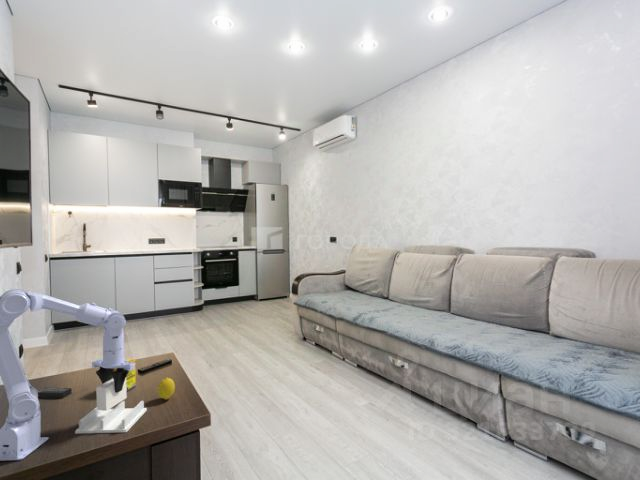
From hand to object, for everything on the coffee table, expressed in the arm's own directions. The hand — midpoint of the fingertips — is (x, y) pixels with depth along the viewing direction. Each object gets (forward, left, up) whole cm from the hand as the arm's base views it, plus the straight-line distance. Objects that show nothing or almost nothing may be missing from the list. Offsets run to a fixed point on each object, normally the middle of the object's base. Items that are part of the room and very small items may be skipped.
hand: (113, 390), depth 106 cm
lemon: (+13, -11, -10) cm, 20 cm away
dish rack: (-1, 0, -9) cm, 9 cm away
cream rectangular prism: (0, 0, -4) cm, 4 cm away
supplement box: (+22, +9, -10) cm, 26 cm away
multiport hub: (+19, +32, -10) cm, 38 cm away
